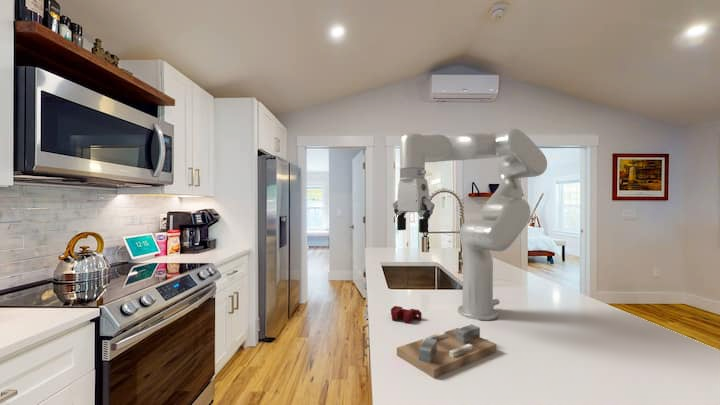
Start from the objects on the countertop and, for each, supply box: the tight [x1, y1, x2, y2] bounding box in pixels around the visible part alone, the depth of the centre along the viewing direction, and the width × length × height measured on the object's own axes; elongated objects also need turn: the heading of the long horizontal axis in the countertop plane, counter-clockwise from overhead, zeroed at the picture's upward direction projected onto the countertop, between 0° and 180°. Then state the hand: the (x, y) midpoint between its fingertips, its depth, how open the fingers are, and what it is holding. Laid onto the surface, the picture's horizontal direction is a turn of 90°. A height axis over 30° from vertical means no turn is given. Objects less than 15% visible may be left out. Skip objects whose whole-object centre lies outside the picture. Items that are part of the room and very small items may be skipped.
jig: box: [396, 324, 497, 379], centre depth 77 cm, size 22×12×4 cm, turn 123°
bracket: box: [390, 305, 423, 324], centre depth 100 cm, size 3×6×10 cm
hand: (412, 231), depth 96 cm, fingers open, 9 cm apart
